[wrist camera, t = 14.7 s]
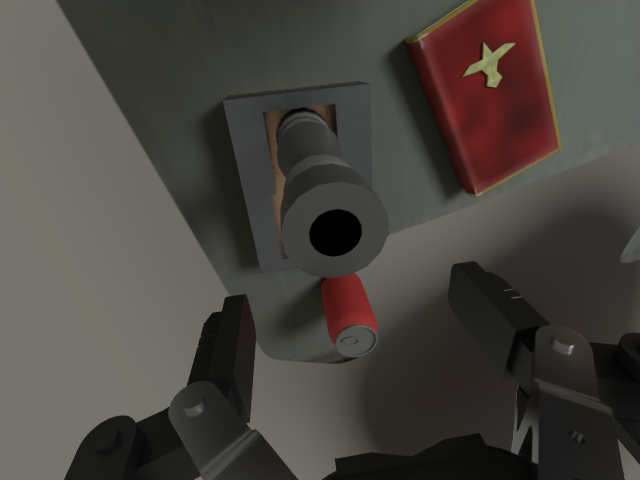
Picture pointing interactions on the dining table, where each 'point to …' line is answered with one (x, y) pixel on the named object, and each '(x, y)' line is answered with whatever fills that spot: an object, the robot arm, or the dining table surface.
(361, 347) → the beer can
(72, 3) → the dining table surface
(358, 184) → the candle holder
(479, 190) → the hardcover book
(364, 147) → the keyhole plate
